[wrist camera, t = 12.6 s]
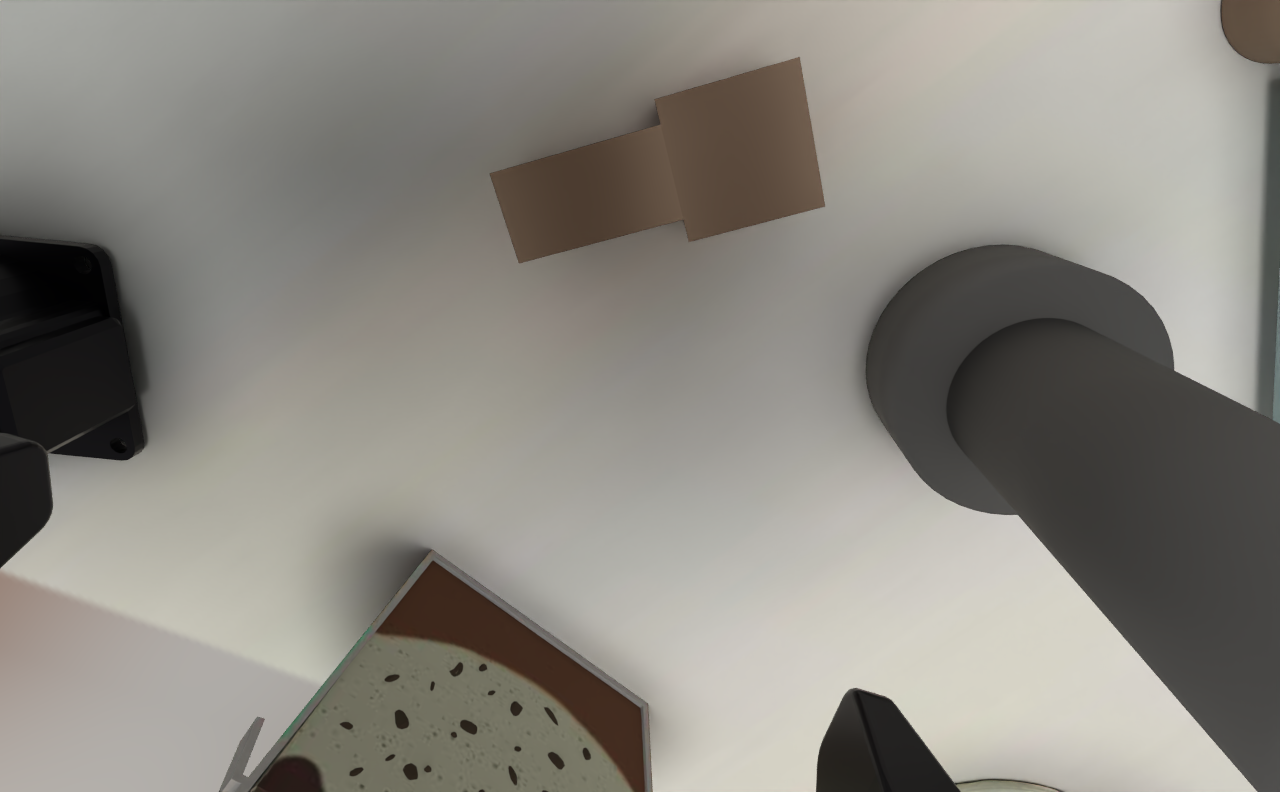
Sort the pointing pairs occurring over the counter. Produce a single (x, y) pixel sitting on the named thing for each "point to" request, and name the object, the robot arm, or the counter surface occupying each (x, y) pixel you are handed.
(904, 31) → the counter surface
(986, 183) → the counter surface
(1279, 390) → the door
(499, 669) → the food container
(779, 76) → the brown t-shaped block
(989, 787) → the coffee can
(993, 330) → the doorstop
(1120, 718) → the counter surface
